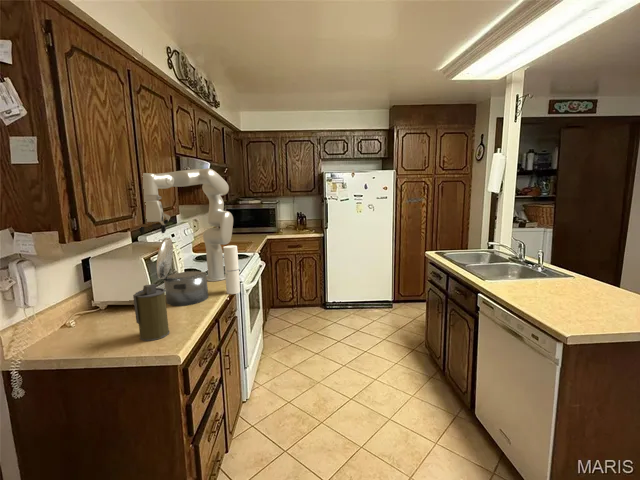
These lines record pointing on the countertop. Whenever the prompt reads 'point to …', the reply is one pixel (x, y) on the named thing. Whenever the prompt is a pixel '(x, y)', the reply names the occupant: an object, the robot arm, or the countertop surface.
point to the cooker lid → (164, 258)
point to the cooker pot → (186, 288)
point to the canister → (151, 313)
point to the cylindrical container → (231, 269)
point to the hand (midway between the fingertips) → (153, 233)
